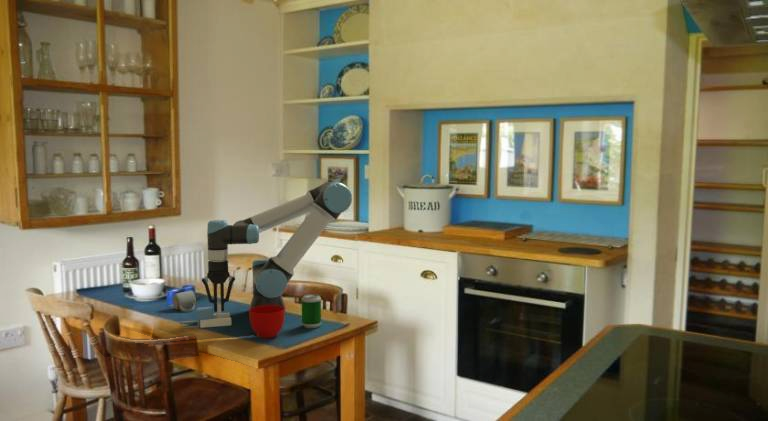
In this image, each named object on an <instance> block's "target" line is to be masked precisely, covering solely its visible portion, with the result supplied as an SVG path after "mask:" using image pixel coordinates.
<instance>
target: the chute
mask: <svg viewBox="0 0 768 421" xmlns="http://www.w3.org/2000/svg"><path fill="white" fill-rule="evenodd" d="M180 323H181V325H182V324H185V325H186V324H196V323H197V320H186V321H180ZM226 326H232V317H231V313H230V312H221V318H218V319H217V313H213V319H205V320H200V326H197V325H191V326H190V325H189V326H188V325H187V326H181V327H180V329H181V330H188V329H189V330H190V329H199V328H212V327H226Z"/></svg>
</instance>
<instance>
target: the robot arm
mask: <svg viewBox="0 0 768 421" xmlns="http://www.w3.org/2000/svg"><path fill="white" fill-rule="evenodd" d="M352 202H353V194H352V191H351V190H350V188H349V187H348V186H347V185H345V184H344V183H342V182H338V181H337V182H336V181H326V182H324V183H323V184H321V185H318V186H316V187H315V188H313V189H310V190H307V191H306V194H304V195H302V196H299V197H297V198H294V199H292V200H290V201H288V202H287V201H286V202H284V203H282V204H280V205H276V206H274V207H272V208H270V209H267V210H264V211H263V212H260V213H257V214H255V215H252V216H250V217H247V218H245V219H242V220H237V221H236V222H234V224H233V225H232V224H229V223H228V221H227V220H226V219H225V220H224V219H213V220H210V221H208V222H207V229H206V231H207V235H206V237H207V260H208V262H207V271H208V272H207V273H206V276H204V277H203V278H201V282H202V284H203V285H204V288H205V292H206V295H207V299H208V302H209V303H211V304H213V312H214V313H216V314H217V319H218V318H221V313H222V312H224V311H225V303H228V302H229V300H230V296H231V293H232V288H233V284H234V282H235V280H236V277H235V276H234V275H231V274H230V272H229V261H228V259H229V255H228V254H229V249H228V248H229V247H228V246H229V245H252V244H254V245H255V244H258V243H259V241H260V233H263V232H266V231H268V230H271V229H272V228H276V227H277V226H279V225H282V224H285V223H287V222H290V221H292V220H294V219H296V218H299V217H302V216H304V215H307V214H308V215H307V216H306V217H305V218H304V219H303V221H302V223H301V224H300V225H299V226H298V227H297V229H296V230H294V233H293V234H292V235H291V236H290V238H289V239H288V240H287V242H286V243H285V244H284V246H283V247H282V248H281V250H280V251H279V252H278V253H277V255H275V256H271V257H269V258H266V259H263V258H262V259H255V260H253V261H252V265H251V269H252V298H251V302H250V304H249V308H248V310H249V309H250V308H252V307H256V306H261V305H278V306H282V307H284V308H285V314H286V313H287V312H286V311H287V310H286V304H285V302H284V299H283V296H282V295H283V294H284V293H285V291H286V289H287V287H288V283H289V282H290V281H291V279H292V278H293V277H294V275H295V274H294V272H295V271H294V269H295V268H296V267H297V265H298V264H299V262H300V261H301V260H302V259H303V257H304V256H305V255H306V253H307V252H308V251H309V249H311V247H312V246H313V244H314V243H315V242H316V240H317V239H318V238H319V237H320V235H321V234H322V233H323V232H324V231H325V229H326V228H327V227H328V225H329V223H331V222H335V221H337V219H338V218H339V217H340V215H341V214H342V213H344V212H345V211H347V210H348V209H349V208H350V206H351V204H352ZM209 280H210V282H211V283H212V284H213V298H212V294H211V291H210V290H211V289H210V286H209ZM227 280H228V285H227V290H226V294H225V284H224V283H226V281H227ZM218 284H219V285H220V286H219V288H220V291H219V292H220V293H219V294H220V302H218Z"/></svg>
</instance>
